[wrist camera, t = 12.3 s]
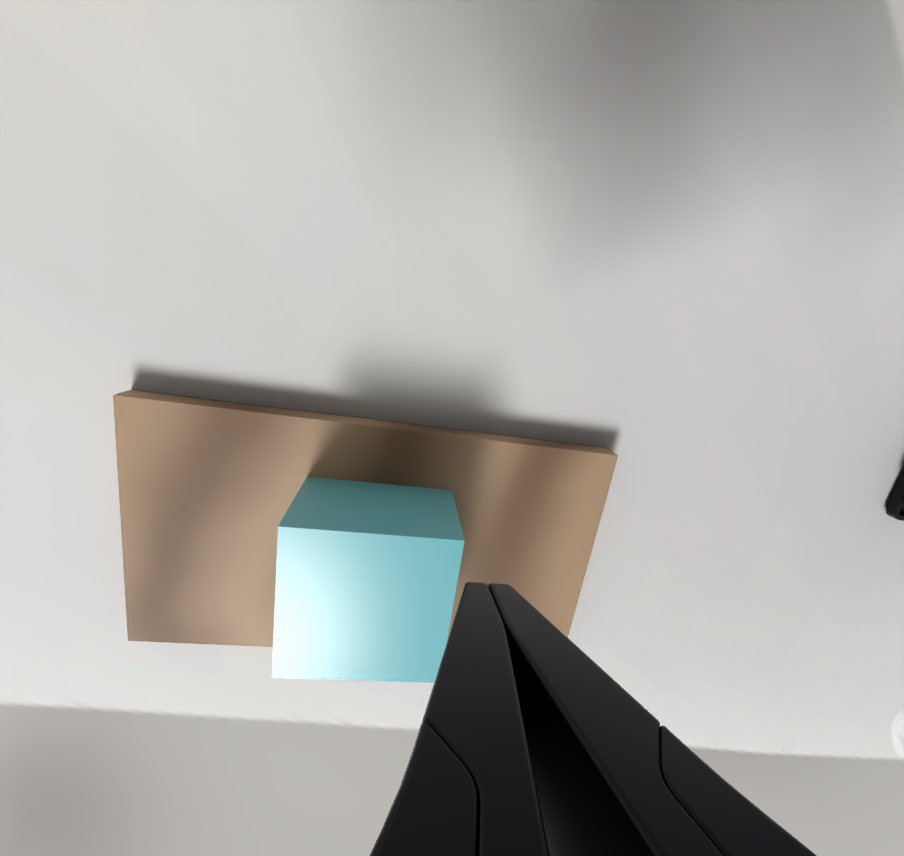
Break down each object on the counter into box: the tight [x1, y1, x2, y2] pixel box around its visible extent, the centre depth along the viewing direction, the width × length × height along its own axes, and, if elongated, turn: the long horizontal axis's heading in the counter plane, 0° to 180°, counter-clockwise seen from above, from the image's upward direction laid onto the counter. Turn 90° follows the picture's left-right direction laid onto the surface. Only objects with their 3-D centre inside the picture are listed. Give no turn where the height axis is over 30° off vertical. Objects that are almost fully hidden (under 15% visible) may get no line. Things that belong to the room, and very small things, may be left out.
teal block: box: [272, 477, 465, 682], centre depth 16 cm, size 6×6×4 cm
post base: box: [113, 390, 618, 647], centre depth 17 cm, size 20×11×4 cm, turn 81°
